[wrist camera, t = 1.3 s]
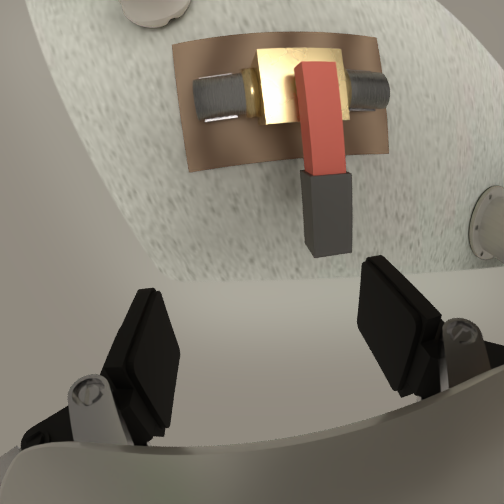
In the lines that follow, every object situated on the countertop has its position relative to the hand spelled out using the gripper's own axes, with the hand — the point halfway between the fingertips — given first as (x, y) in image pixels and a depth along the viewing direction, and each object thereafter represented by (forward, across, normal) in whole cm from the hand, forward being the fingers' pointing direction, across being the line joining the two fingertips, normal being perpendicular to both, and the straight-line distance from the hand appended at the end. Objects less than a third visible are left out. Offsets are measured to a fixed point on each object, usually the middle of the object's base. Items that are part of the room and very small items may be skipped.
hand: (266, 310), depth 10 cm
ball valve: (+21, -6, -9) cm, 24 cm away
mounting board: (+23, -6, -10) cm, 25 cm away
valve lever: (+15, -6, -3) cm, 16 cm away
